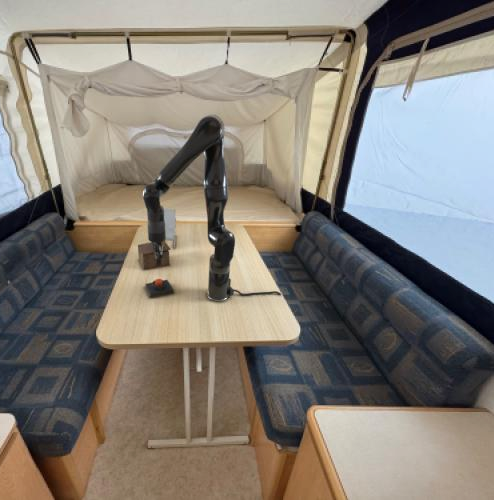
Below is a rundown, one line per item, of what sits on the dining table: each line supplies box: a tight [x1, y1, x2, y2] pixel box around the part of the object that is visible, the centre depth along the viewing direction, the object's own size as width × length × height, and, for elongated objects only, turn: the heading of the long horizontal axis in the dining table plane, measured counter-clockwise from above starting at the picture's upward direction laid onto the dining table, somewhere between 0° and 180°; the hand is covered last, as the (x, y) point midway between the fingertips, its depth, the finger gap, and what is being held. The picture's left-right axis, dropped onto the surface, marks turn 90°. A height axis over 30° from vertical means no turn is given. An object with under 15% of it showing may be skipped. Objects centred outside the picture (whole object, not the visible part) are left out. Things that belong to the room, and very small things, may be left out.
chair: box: [164, 208, 177, 249], centre depth 174 cm, size 13×25×20 cm, turn 1°
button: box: [154, 278, 164, 286], centre depth 125 cm, size 4×4×2 cm
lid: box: [137, 241, 171, 255], centre depth 147 cm, size 15×13×5 cm
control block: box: [144, 279, 174, 299], centre depth 126 cm, size 11×9×4 cm
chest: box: [137, 246, 170, 271], centre depth 150 cm, size 15×13×9 cm
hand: (158, 264), depth 121 cm, fingers closed
